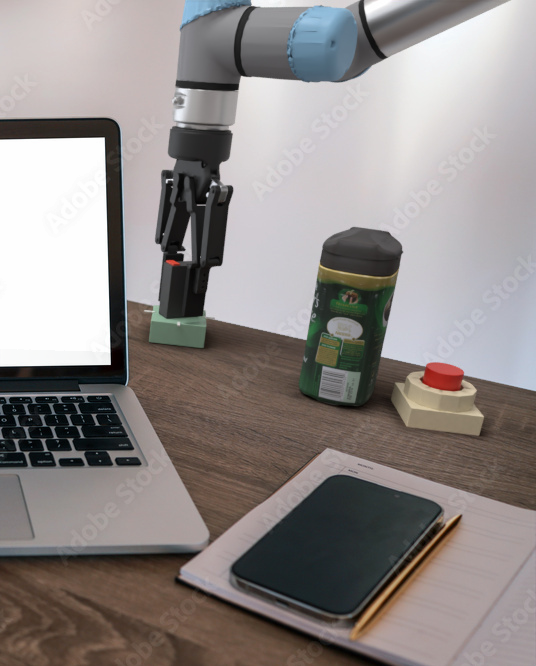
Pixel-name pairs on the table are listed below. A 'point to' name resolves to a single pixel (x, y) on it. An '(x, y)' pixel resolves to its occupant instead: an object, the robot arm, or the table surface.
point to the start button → (443, 376)
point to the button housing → (437, 406)
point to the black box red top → (173, 288)
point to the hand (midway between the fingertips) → (179, 307)
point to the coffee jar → (350, 315)
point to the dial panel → (178, 329)
